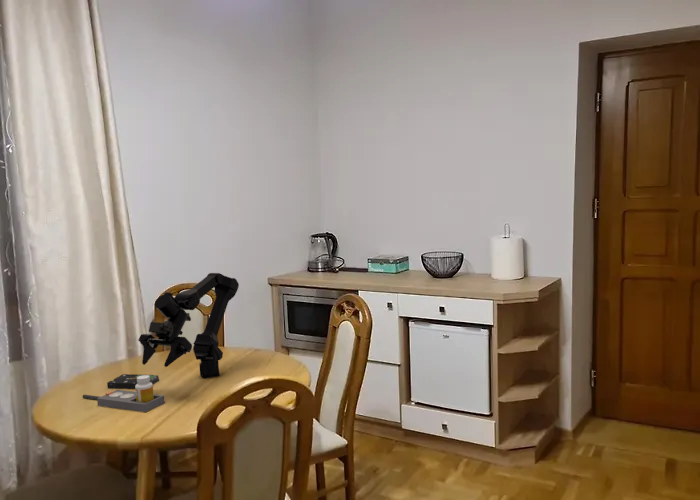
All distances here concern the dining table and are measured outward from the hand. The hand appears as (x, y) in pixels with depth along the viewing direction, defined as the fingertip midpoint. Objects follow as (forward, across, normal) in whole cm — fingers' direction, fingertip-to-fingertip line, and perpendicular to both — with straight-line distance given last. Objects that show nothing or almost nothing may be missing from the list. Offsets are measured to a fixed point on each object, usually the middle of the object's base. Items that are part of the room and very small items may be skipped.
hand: (154, 365), depth 208 cm
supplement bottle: (+12, 0, +5) cm, 13 cm away
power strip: (+12, -12, +5) cm, 17 cm away
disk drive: (+1, -21, +17) cm, 27 cm away
